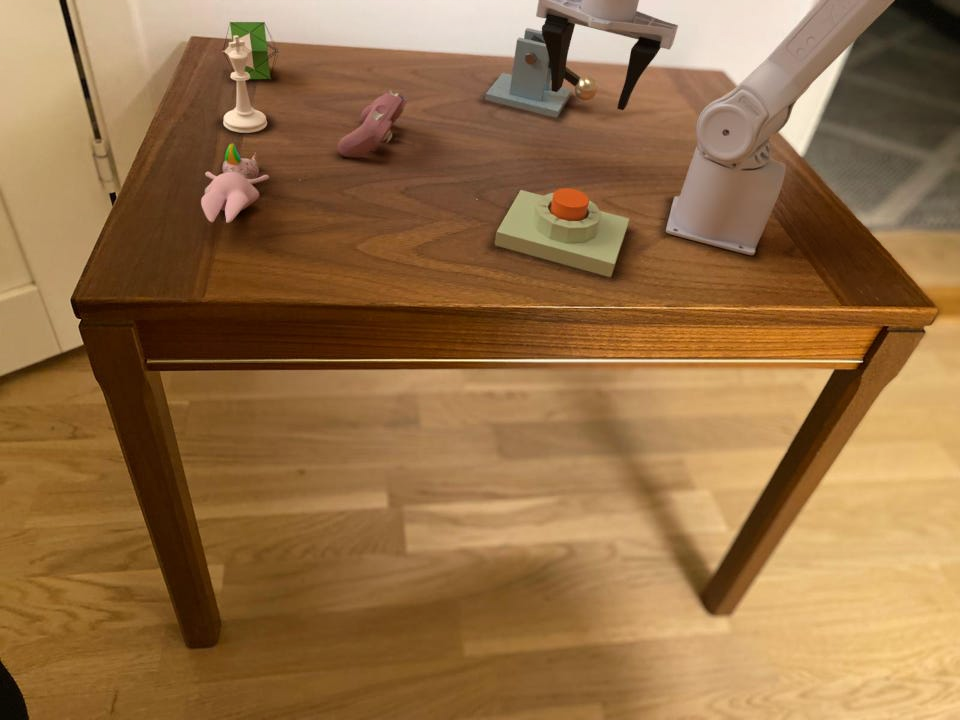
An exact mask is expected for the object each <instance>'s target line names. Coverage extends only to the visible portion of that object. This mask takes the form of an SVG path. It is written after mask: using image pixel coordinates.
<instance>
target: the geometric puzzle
mask: <svg viewBox="0 0 960 720" xmlns="http://www.w3.org/2000/svg"><path fill="white" fill-rule="evenodd" d="M228 26H229V27H228V28H227V33H226V37H225V40H224V45H223V47H222V50H221V52H222V53H223V55H224V56H225V59H226V61H227V63H228V64H229V66H230V69H231V70H232V72H235V70H234V68H233V66H232V64H231V62H230V60H228V57H229V53H230V52H232V51H235V48H230V47H229V45H228V46H227V47H226V48H225V46H226V43H227V37H228V34H229V29H230V33H231V42H234V39H233V36H235V35H237V36H239V41H241V40H243V41H245V46H240V51H243V52H245V53H246V54H247V55H248V57H247V61H246V67H245V70H244V71H245V72H247V73H249V75H250V79H249V80H272V76H273V71H274V69H275V65H276V63H277V62H276V60H277V59H278V55H279V52H280V50H279V49H278V45H276V42H275V40H274V39H273V36H272V34H271V32H270V30H269V28H268V26H267V24H266V21H229V24H228ZM266 30H267V34H268V35H269V37H270V40H271V42H272V45H271V44H270V43H268V42H267V35H266ZM268 47H269V48H270V49H272V50H273V51H272V53H270V54H269V50H268ZM227 56H228V57H227ZM272 57H274V60H273V61H274V62H273V63H272V66H273V67H272V69H271V68H270V61H269V59H270V58H272ZM270 69H271V70H270Z"/></svg>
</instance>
